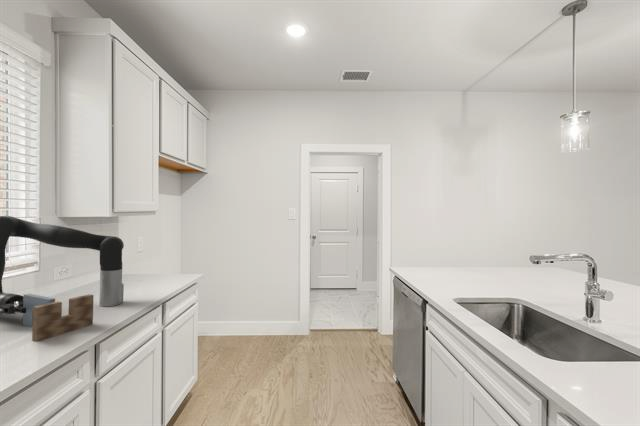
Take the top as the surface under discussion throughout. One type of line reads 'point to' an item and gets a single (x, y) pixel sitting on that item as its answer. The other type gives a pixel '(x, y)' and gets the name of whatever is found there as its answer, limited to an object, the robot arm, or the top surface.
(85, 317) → the walnut board
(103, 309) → the top surface
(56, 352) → the top surface
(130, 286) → the top surface
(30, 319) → the slate plate
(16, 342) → the top surface
